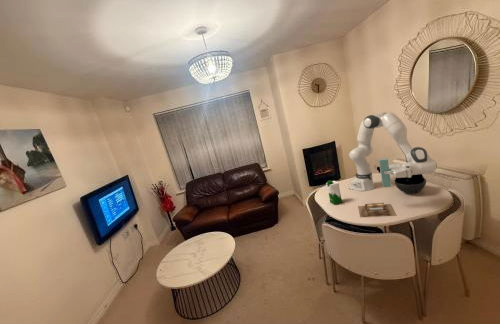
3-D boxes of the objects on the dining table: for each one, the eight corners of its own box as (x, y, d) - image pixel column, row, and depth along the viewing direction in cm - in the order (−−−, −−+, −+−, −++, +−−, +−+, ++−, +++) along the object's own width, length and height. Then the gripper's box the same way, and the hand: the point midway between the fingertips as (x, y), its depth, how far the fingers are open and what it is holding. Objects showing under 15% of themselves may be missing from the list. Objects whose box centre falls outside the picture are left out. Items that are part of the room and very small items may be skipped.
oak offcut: (383, 210, 155) (382, 203, 154) (384, 211, 153) (383, 204, 153) (368, 211, 159) (367, 204, 158) (368, 212, 157) (367, 205, 157)
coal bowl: (407, 185, 185) (404, 164, 182) (433, 190, 166) (431, 167, 163) (390, 193, 179) (387, 171, 176) (415, 199, 160) (413, 175, 157)
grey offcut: (383, 212, 152) (382, 207, 152) (383, 214, 150) (383, 208, 150) (370, 213, 155) (369, 208, 155) (370, 214, 154) (369, 209, 153)
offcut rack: (391, 205, 161) (390, 200, 160) (397, 217, 145) (396, 211, 144) (358, 207, 170) (357, 202, 169) (360, 219, 154) (359, 213, 153)
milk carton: (328, 202, 191) (324, 180, 188) (338, 199, 192) (334, 177, 189) (334, 205, 183) (329, 183, 179) (343, 202, 184) (339, 180, 180)
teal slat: (390, 185, 157) (386, 158, 154) (391, 186, 155) (387, 159, 151) (382, 186, 159) (378, 159, 156) (383, 187, 157) (379, 160, 153)
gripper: (401, 160, 159) (380, 163, 164) (410, 169, 140) (385, 171, 146) (403, 169, 160) (381, 171, 165) (411, 178, 141) (387, 180, 147)
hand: (383, 171), depth 155 cm, fingers closed on teal slat, 2 cm apart
